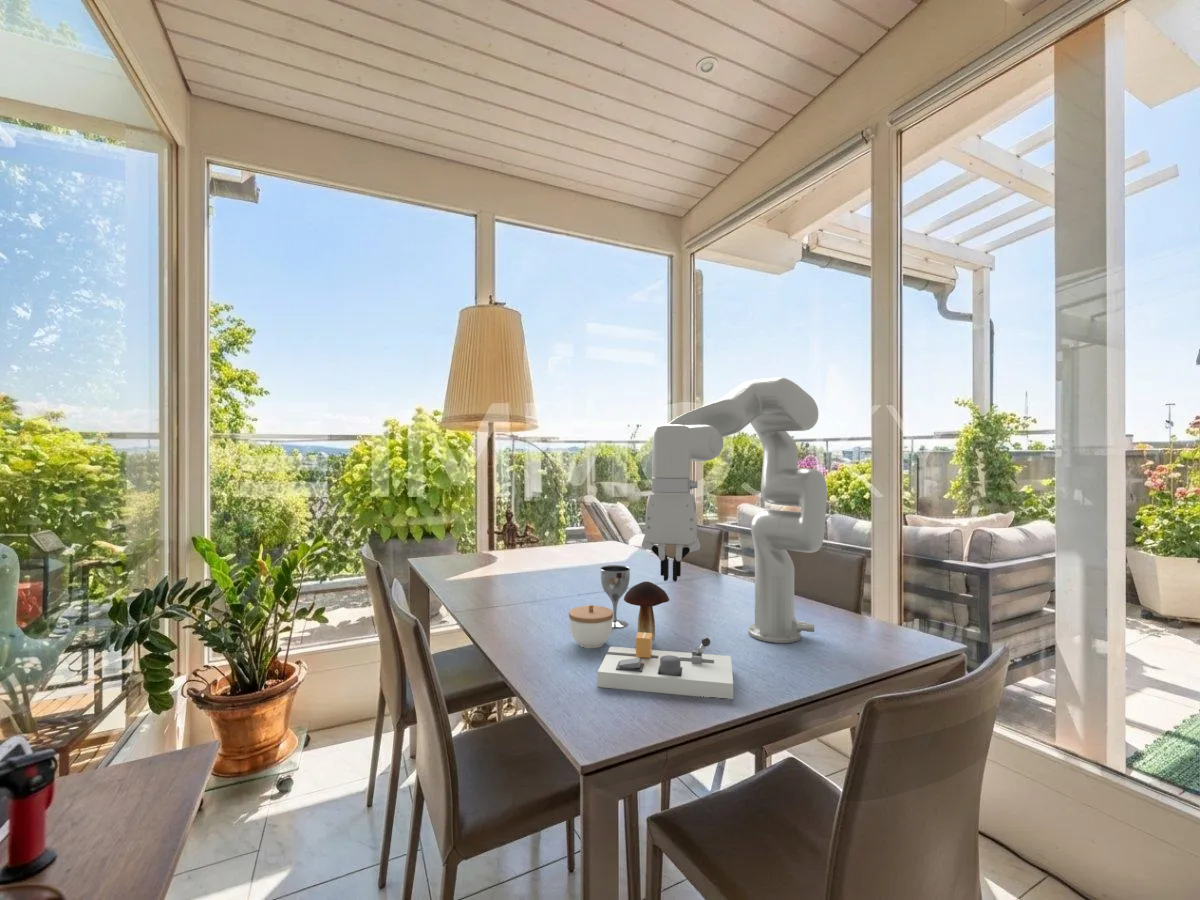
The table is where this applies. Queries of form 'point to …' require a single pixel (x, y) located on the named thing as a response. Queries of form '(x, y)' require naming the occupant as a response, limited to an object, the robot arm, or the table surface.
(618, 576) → the wine glass
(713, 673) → the panel
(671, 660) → the button
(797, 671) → the table surface
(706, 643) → the lever
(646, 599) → the decorative mushroom
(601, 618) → the lidded jar
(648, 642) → the slider
